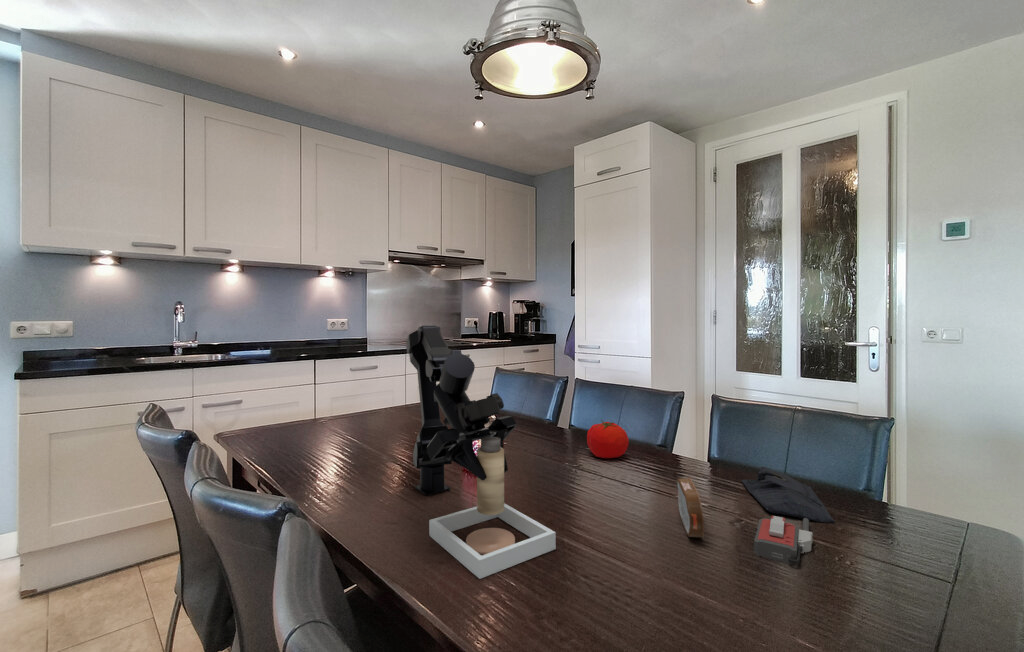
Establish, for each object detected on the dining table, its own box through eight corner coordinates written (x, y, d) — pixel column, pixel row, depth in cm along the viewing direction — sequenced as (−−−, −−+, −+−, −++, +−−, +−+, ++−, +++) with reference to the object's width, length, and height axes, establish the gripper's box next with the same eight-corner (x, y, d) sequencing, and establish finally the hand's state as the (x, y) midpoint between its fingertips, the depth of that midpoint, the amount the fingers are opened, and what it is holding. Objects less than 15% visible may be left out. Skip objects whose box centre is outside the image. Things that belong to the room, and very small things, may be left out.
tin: (705, 546, 84) (705, 500, 84) (687, 544, 85) (687, 499, 84) (690, 511, 99) (690, 472, 99) (675, 510, 99) (675, 471, 99)
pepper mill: (471, 507, 86) (471, 438, 86) (494, 501, 89) (494, 434, 89) (486, 517, 82) (486, 444, 82) (509, 510, 85) (509, 440, 85)
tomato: (594, 448, 145) (594, 415, 145) (634, 455, 138) (634, 421, 138) (578, 457, 136) (578, 422, 136) (619, 465, 129) (619, 428, 129)
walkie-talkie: (812, 575, 75) (812, 527, 92) (812, 548, 75) (812, 505, 92) (751, 560, 80) (762, 517, 97) (751, 534, 80) (762, 496, 97)
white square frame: (429, 535, 88) (429, 520, 88) (498, 514, 98) (498, 500, 98) (479, 578, 74) (479, 560, 74) (555, 548, 83) (555, 532, 83)
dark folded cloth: (754, 517, 97) (754, 495, 97) (740, 481, 118) (740, 463, 117) (841, 528, 92) (841, 504, 92) (810, 489, 113) (810, 469, 112)
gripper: (435, 386, 81) (478, 463, 74) (510, 375, 94) (552, 440, 87) (410, 423, 87) (447, 498, 79) (484, 408, 100) (521, 471, 93)
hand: (495, 475), depth 85 cm, fingers closed on pepper mill, 5 cm apart
